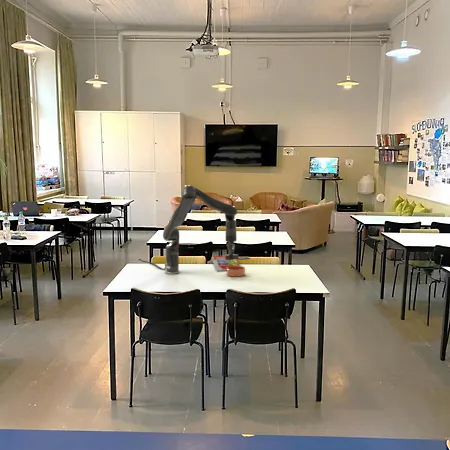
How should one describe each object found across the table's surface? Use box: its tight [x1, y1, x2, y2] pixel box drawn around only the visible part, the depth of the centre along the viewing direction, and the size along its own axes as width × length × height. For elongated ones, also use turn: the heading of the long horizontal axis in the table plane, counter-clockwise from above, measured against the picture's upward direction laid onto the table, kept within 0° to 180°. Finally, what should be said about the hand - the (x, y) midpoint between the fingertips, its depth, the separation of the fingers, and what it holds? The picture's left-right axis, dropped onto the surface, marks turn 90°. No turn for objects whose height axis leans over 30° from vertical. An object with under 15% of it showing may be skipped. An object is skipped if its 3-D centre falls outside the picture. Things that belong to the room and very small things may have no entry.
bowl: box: [226, 265, 246, 278], centre depth 325 cm, size 13×13×5 cm
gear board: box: [210, 255, 241, 272], centre depth 358 cm, size 45×2×19 cm
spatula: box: [224, 253, 251, 261], centre depth 313 cm, size 17×5×3 cm, turn 103°
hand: (230, 258), depth 312 cm, fingers closed on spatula, 2 cm apart
